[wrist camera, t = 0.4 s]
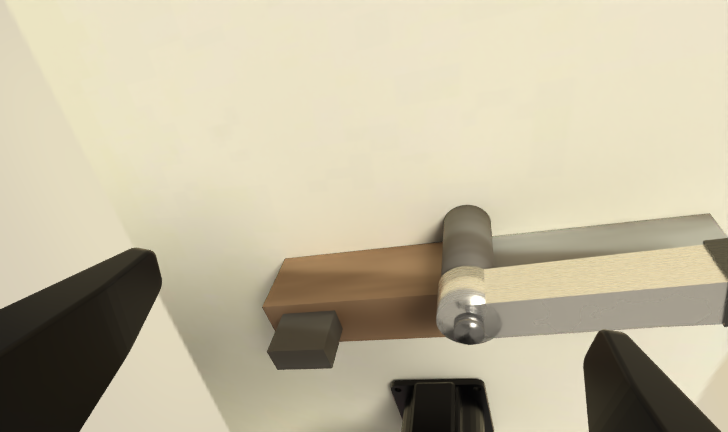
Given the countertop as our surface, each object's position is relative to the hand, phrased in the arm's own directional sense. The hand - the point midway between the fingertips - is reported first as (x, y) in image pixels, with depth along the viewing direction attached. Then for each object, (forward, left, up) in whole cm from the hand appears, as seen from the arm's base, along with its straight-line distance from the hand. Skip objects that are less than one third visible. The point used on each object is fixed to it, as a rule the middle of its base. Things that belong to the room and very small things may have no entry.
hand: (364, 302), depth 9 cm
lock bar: (-8, -6, -9) cm, 13 cm away
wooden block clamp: (-9, -1, -14) cm, 16 cm away
